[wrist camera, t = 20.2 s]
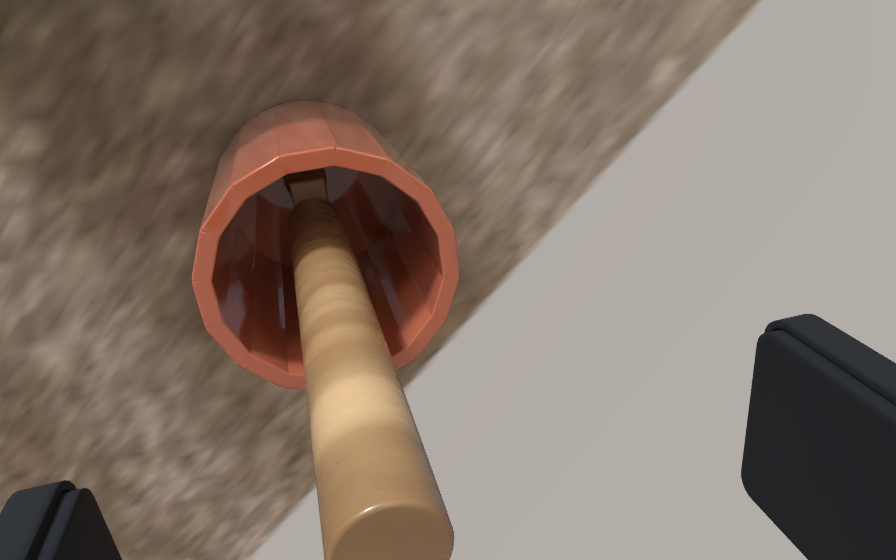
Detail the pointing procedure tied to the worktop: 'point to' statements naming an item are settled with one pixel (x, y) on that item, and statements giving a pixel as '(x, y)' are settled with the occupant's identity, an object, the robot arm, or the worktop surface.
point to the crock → (366, 222)
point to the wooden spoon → (357, 401)
